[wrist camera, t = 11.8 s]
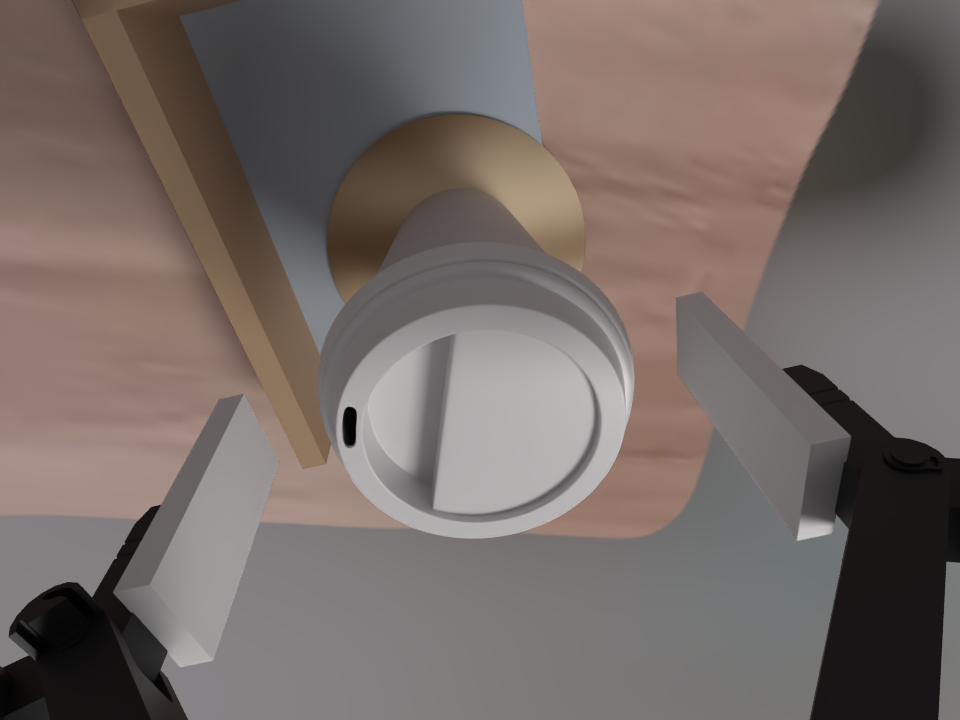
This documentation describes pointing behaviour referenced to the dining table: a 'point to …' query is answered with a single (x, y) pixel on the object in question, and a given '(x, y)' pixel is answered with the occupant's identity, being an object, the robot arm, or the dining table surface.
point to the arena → (294, 139)
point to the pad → (444, 166)
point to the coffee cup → (475, 376)
